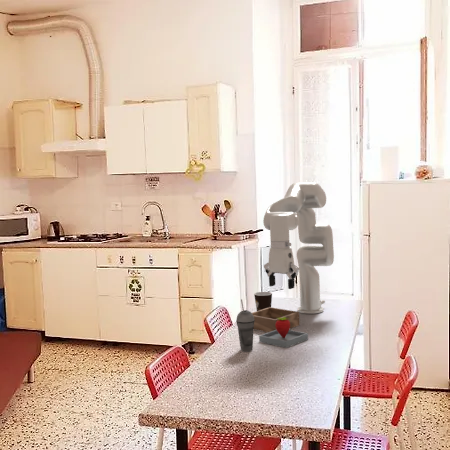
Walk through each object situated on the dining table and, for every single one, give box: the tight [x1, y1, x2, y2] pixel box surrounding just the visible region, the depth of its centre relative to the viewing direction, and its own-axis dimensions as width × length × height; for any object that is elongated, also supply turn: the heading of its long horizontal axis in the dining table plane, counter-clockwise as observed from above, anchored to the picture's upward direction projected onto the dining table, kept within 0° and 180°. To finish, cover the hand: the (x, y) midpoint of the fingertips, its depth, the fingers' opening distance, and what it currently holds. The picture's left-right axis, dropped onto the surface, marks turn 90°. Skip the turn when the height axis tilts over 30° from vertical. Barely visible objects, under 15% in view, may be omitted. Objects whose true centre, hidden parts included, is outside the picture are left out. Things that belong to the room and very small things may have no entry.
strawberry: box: [275, 317, 291, 338], centre depth 241 cm, size 6×8×10 cm
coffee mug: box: [253, 291, 273, 311], centre depth 287 cm, size 12×9×10 cm
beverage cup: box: [235, 298, 255, 353], centre depth 230 cm, size 7×7×20 cm
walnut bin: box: [251, 306, 301, 333], centre depth 263 cm, size 17×17×6 cm
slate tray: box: [258, 329, 309, 349], centre depth 241 cm, size 14×14×2 cm
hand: (281, 287), depth 239 cm, fingers open, 9 cm apart
